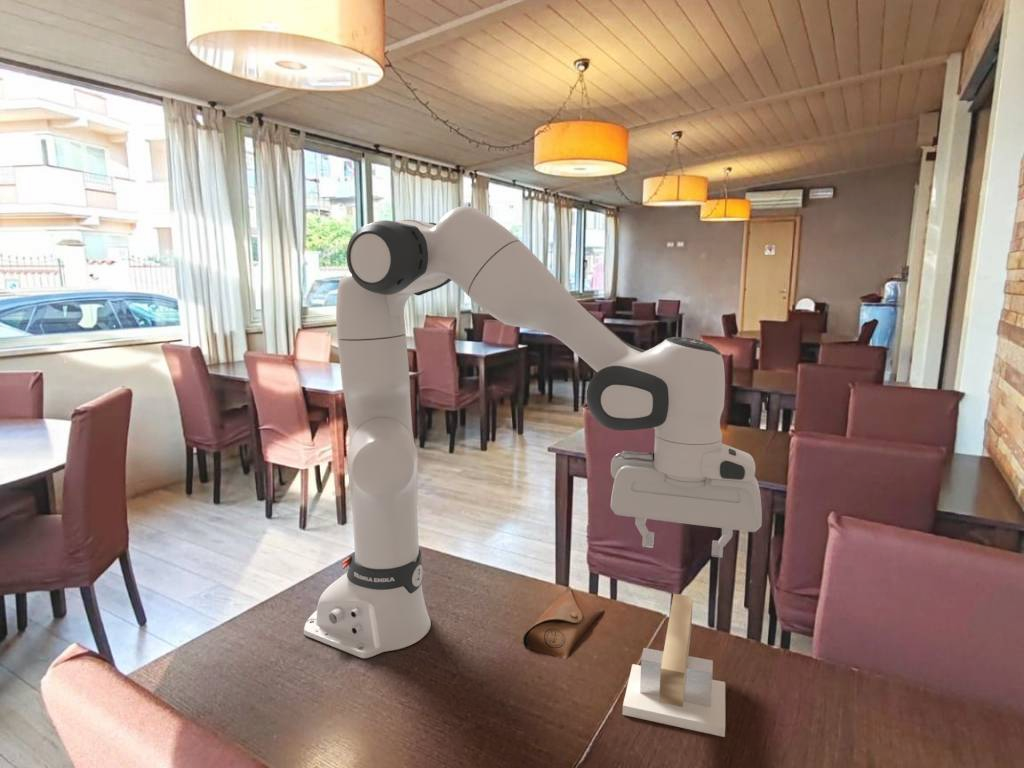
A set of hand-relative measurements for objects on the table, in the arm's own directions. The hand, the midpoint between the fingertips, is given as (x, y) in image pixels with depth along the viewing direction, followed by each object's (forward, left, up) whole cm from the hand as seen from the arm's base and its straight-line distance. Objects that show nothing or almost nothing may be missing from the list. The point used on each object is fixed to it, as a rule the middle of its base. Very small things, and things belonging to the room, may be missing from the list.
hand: (681, 550), depth 87 cm
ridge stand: (0, 0, -24) cm, 24 cm away
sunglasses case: (-20, +14, -25) cm, 35 cm away
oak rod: (0, 0, -17) cm, 17 cm away
